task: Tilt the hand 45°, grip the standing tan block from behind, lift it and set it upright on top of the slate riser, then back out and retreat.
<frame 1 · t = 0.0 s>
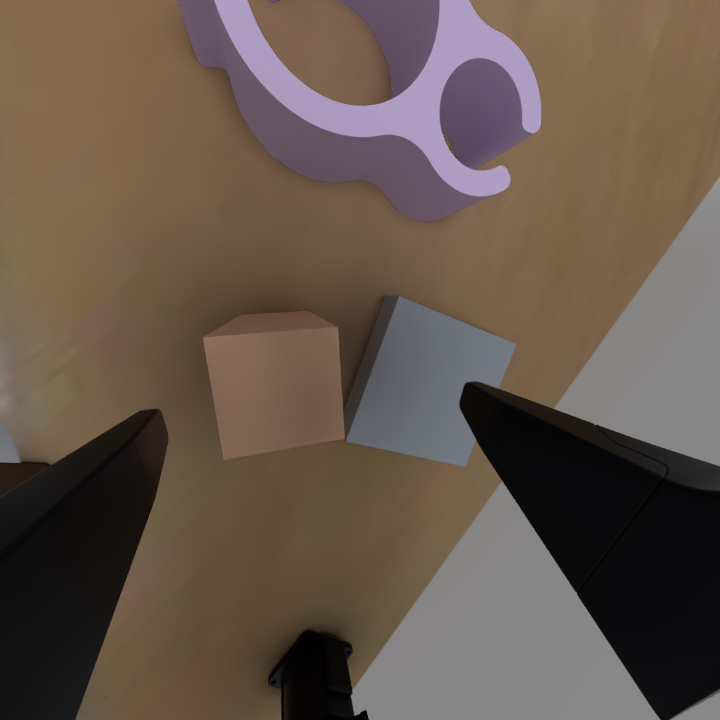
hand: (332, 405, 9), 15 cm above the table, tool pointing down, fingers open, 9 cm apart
tan block: (278, 344, 23), on the table
clip: (356, 111, 21), on the table
beer bottle: (22, 503, 21), on the table
slate riser: (419, 380, 27), on the table
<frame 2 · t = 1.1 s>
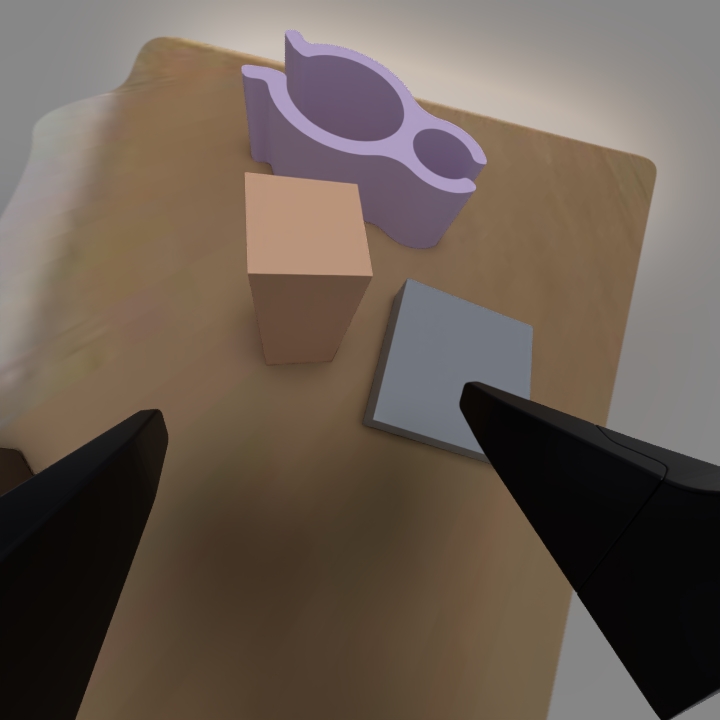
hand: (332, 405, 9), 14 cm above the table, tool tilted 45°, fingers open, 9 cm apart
tan block: (297, 333, 24), on the table
clip: (357, 187, 30), on the table
slate riser: (444, 376, 25), on the table
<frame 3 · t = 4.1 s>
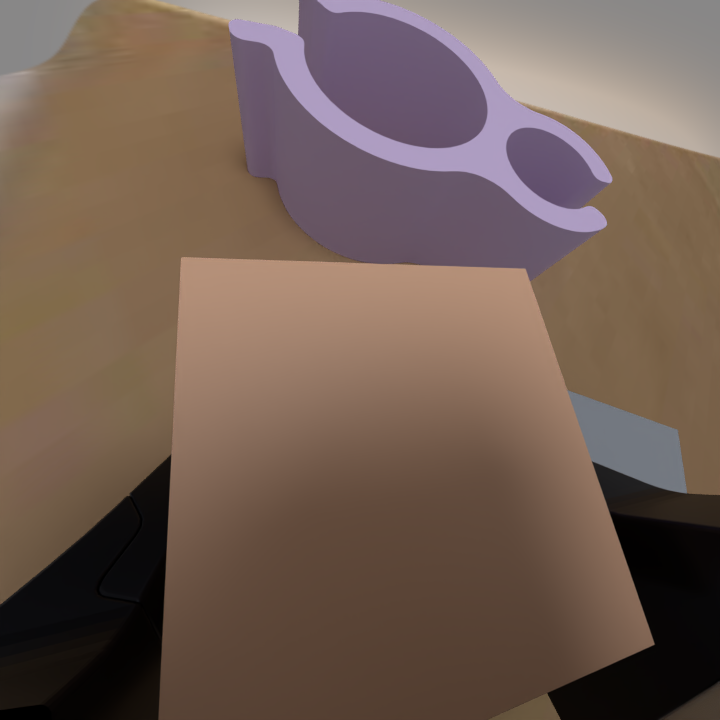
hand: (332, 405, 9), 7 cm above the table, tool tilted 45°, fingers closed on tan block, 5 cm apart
tan block: (315, 456, 14), on the table, touching gripper
clip: (397, 211, 21), on the table
slate riser: (541, 509, 16), on the table
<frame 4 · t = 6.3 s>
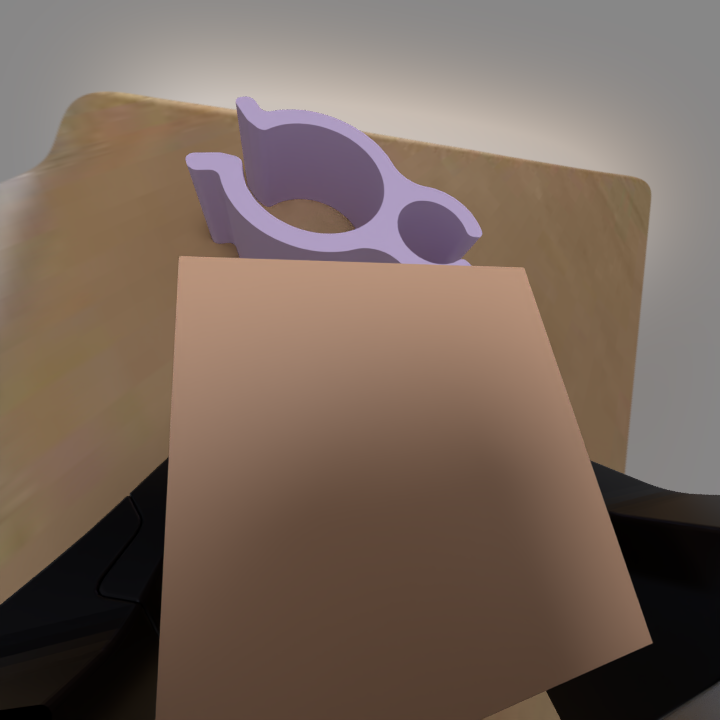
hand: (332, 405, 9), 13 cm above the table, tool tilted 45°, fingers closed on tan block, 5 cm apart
tan block: (315, 455, 14), point 7 cm above the table, touching gripper
clip: (336, 256, 27), on the table
when the fingers open (11 cm above the table, at t = 8.1 s): tan block drops 1 cm, resting on slate riser.
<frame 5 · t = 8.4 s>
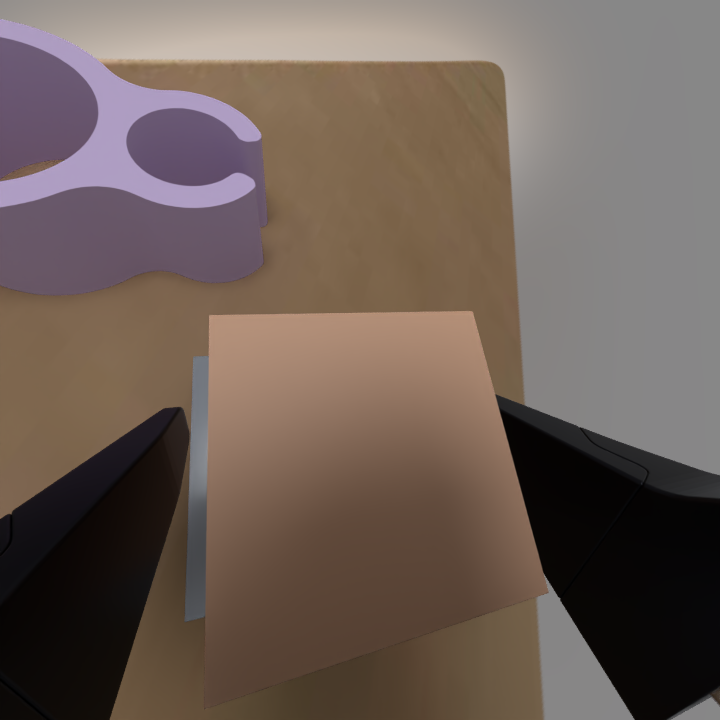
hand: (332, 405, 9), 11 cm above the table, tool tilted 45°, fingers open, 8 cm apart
tan block: (312, 456, 16), point 3 cm above the table, touching slate riser
clip: (118, 224, 21), on the table
slate riser: (309, 456, 19), on the table
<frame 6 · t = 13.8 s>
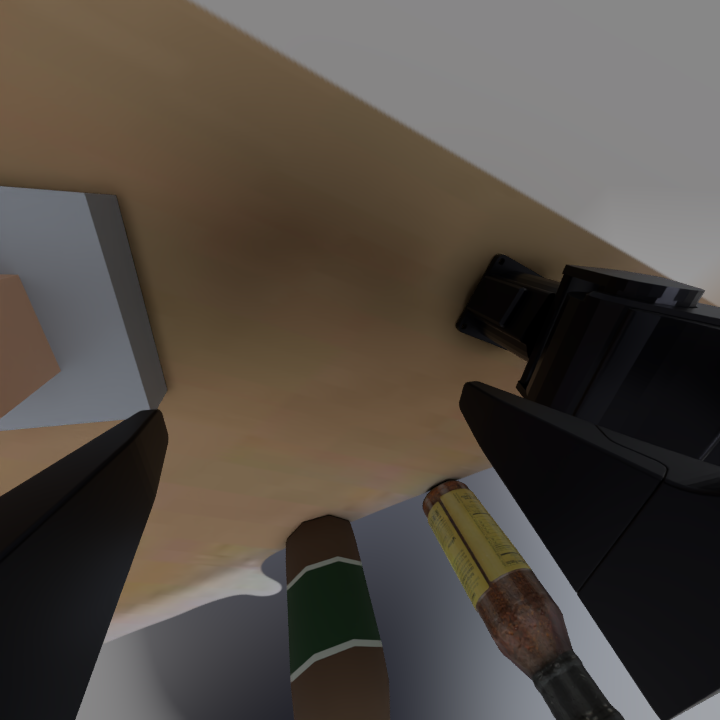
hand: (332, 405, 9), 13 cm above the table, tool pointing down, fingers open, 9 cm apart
sauce bottle: (443, 493, 35), on the table
beer bottle: (319, 535, 33), on the table
slate riser: (20, 308, 16), on the table
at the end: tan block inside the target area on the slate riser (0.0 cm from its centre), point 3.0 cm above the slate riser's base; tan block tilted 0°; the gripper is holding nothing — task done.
